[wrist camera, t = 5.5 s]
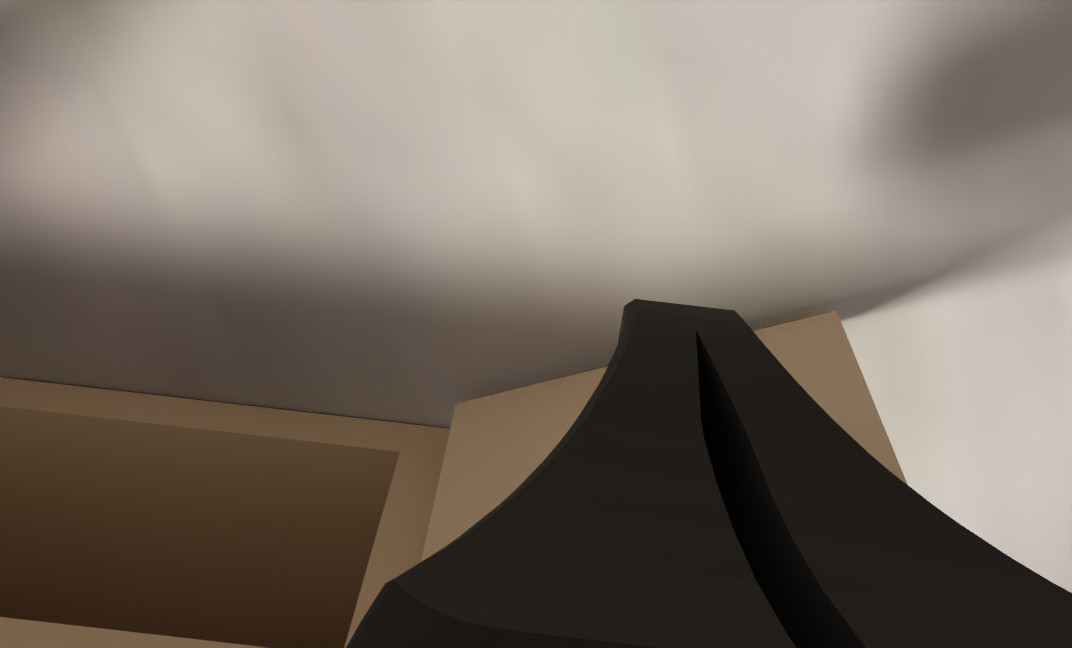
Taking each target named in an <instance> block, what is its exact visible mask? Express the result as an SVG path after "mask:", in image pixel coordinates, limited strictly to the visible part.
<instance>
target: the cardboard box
mask: <svg viewBox="0 0 1072 648" xmlns="http://www.w3.org/2000/svg"><path fill="white" fill-rule="evenodd" d="M449 432H450V429H448V428H439V427H430V426H422V425H413V424H404V423H395V422H387V421H378V420H369V419H360V418H352V417H343V416H334V415H325V414H317V413H308V412H299V411H290V410H282V409H273V408H264V407H256V406H247V405H238V404H229V403H221V402H212V401H203V400H194V399H186V398H177V397H168V396H159V395H151V394H142V393H133V392H124V391H116V390H107V389H98V388H89V387H81V386H72V385H63V384H54V383H46V382H37V381H28V380H20V379H11V378H2V377H0V648H346V646H347V645H348V643H349V641H350V640H351V638H352V636H353V634H354V633H355V631H356V629H357V627H358V626H359V624H360V622H361V621H362V619H363V617H364V616H365V614H366V613H367V611H368V610H369V608H370V606H371V605H372V603H373V602H374V600H375V598H376V597H377V595H378V594H379V592H380V591H381V589H382V588H383V586H384V585H385V583H387V582H389V581H390V580H392V579H394V578H396V577H397V576H399V575H401V574H402V573H404V572H405V571H407V570H409V569H410V568H412V567H413V566H415V565H417V564H418V563H420V562H421V559H422V555H423V550H424V546H425V541H426V536H427V532H428V527H429V523H430V518H431V514H432V509H433V505H434V500H435V496H436V491H437V487H438V482H439V477H440V473H441V468H442V464H443V459H444V455H445V450H446V446H447V441H448V437H449Z"/></svg>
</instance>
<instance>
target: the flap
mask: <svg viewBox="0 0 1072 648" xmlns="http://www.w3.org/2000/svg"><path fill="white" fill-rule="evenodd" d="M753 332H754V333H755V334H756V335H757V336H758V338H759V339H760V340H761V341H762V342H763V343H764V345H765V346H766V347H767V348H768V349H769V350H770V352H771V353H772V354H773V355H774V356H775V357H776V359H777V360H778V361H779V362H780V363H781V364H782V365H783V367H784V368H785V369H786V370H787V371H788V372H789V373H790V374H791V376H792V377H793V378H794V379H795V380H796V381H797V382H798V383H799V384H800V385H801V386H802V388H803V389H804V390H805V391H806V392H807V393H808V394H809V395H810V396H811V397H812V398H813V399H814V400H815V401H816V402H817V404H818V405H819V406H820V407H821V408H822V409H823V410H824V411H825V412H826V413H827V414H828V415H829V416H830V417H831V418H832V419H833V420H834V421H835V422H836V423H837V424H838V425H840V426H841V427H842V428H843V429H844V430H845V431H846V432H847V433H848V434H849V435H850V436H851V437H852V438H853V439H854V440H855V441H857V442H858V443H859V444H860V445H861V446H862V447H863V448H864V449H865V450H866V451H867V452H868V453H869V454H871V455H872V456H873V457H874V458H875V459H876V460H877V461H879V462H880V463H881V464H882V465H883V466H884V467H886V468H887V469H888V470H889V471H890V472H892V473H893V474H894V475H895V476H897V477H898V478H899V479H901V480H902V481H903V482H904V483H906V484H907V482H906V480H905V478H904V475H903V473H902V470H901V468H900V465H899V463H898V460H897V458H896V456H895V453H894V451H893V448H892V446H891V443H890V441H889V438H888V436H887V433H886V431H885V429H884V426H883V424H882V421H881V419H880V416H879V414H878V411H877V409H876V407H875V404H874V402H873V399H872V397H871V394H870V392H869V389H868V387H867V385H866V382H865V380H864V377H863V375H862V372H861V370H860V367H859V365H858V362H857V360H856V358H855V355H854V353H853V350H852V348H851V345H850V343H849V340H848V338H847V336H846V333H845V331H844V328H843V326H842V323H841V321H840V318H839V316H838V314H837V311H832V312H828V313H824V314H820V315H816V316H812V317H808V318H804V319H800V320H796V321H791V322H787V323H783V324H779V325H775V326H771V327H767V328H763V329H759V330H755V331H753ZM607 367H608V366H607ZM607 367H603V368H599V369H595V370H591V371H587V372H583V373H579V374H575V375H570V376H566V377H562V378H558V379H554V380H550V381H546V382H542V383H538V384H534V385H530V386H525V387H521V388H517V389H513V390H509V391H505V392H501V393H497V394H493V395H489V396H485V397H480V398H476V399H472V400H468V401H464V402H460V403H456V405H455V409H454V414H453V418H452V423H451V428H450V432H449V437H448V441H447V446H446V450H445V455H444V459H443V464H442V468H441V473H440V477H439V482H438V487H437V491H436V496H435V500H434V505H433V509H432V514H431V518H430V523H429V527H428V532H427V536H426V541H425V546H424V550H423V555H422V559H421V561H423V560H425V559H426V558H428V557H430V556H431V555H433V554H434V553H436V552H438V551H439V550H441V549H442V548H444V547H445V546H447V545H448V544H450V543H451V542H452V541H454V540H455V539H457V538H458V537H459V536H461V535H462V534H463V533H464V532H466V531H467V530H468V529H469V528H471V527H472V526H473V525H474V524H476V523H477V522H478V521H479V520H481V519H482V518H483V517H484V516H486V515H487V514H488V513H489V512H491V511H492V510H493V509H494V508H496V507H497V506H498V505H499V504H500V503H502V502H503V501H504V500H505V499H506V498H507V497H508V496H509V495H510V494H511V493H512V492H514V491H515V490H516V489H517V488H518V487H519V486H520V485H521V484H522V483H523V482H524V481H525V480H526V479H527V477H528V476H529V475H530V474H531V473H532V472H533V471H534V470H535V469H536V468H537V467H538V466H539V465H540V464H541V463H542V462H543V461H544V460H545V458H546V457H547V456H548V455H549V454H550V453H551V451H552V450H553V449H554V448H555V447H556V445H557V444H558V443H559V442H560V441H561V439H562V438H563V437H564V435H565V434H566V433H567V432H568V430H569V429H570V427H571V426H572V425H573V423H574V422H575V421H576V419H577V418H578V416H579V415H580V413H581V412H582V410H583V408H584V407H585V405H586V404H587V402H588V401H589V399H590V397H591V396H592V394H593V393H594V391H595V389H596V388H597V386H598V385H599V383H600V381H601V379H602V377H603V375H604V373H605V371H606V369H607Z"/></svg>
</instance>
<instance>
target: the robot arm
mask: <svg viewBox="0 0 1072 648" xmlns="http://www.w3.org/2000/svg"><path fill="white" fill-rule="evenodd" d="M346 648H1072V593H1070V592H1068V591H1067V590H1065V589H1063V588H1061V587H1059V586H1058V585H1056V584H1054V583H1052V582H1050V581H1049V580H1047V579H1045V578H1044V577H1042V576H1040V575H1039V574H1037V573H1035V572H1034V571H1032V570H1030V569H1029V568H1027V567H1025V566H1024V565H1022V564H1020V563H1019V562H1017V561H1015V560H1014V559H1012V558H1010V557H1009V556H1007V555H1006V554H1004V553H1003V552H1001V551H1000V550H998V549H997V548H995V547H994V546H992V545H991V544H989V543H987V542H986V541H984V540H983V539H981V538H980V537H978V536H977V535H975V534H974V533H972V532H971V531H969V530H968V529H966V528H965V527H963V526H962V525H960V524H959V523H957V522H956V521H955V520H953V519H952V518H950V517H949V516H948V515H946V514H945V513H943V512H942V511H941V510H939V509H938V508H936V507H935V506H934V505H932V504H931V503H930V502H928V501H927V500H926V499H925V498H923V497H922V496H921V495H920V494H918V493H917V492H916V491H914V490H913V489H912V488H911V487H909V486H908V485H907V484H906V483H904V482H903V481H902V480H901V479H899V478H898V477H897V476H895V475H894V474H893V473H892V472H890V471H889V470H888V469H887V468H886V467H884V466H883V465H882V464H881V463H880V462H879V461H877V460H876V459H875V458H874V457H873V456H872V455H871V454H869V453H868V452H867V451H866V450H865V449H864V448H863V447H862V446H861V445H860V444H859V443H858V442H857V441H855V440H854V439H853V438H852V437H851V436H850V435H849V434H848V433H847V432H846V431H845V430H844V429H843V428H842V427H841V426H840V425H838V424H837V423H836V422H835V421H834V420H833V419H832V418H831V417H830V416H829V415H828V414H827V413H826V412H825V411H824V410H823V409H822V408H821V407H820V406H819V405H818V404H817V402H816V401H815V400H814V399H813V398H812V397H811V396H810V395H809V394H808V393H807V392H806V391H805V390H804V389H803V388H802V386H801V385H800V384H799V383H798V382H797V381H796V380H795V379H794V378H793V377H792V376H791V374H790V373H789V372H788V371H787V370H786V369H785V368H784V367H783V365H782V364H781V363H780V362H779V361H778V360H777V359H776V357H775V356H774V355H773V354H772V353H771V352H770V350H769V349H768V348H767V347H766V346H765V345H764V343H763V342H762V341H761V340H760V339H759V338H758V336H757V335H756V334H755V333H754V332H753V331H752V329H751V328H750V327H749V326H748V325H747V324H746V322H745V321H744V320H743V319H742V318H741V317H740V316H739V315H738V314H737V313H736V312H735V311H734V310H725V309H716V308H708V307H699V306H690V305H682V304H673V303H665V302H656V301H647V300H639V299H635V300H633V301H631V302H630V303H628V304H627V305H625V306H624V311H623V317H622V323H621V329H620V335H619V341H618V345H617V348H616V351H615V353H614V355H613V357H612V359H611V361H610V363H609V365H608V367H607V369H606V371H605V373H604V375H603V377H602V379H601V381H600V383H599V385H598V386H597V388H596V389H595V391H594V393H593V394H592V396H591V397H590V399H589V401H588V402H587V404H586V405H585V407H584V408H583V410H582V412H581V413H580V415H579V416H578V418H577V419H576V421H575V422H574V423H573V425H572V426H571V427H570V429H569V430H568V432H567V433H566V434H565V435H564V437H563V438H562V439H561V441H560V442H559V443H558V444H557V445H556V447H555V448H554V449H553V450H552V451H551V453H550V454H549V455H548V456H547V457H546V458H545V460H544V461H543V462H542V463H541V464H540V465H539V466H538V467H537V468H536V469H535V470H534V471H533V472H532V473H531V474H530V475H529V476H528V477H527V479H526V480H525V481H524V482H523V483H522V484H521V485H520V486H519V487H518V488H517V489H516V490H515V491H514V492H512V493H511V494H510V495H509V496H508V497H507V498H506V499H505V500H504V501H503V502H502V503H500V504H499V505H498V506H497V507H496V508H494V509H493V510H492V511H491V512H489V513H488V514H487V515H486V516H484V517H483V518H482V519H481V520H479V521H478V522H477V523H476V524H474V525H473V526H472V527H471V528H469V529H468V530H467V531H466V532H464V533H463V534H462V535H461V536H459V537H458V538H457V539H455V540H454V541H452V542H451V543H450V544H448V545H447V546H445V547H444V548H442V549H441V550H439V551H438V552H436V553H434V554H433V555H431V556H430V557H428V558H426V559H425V560H423V561H421V562H420V563H418V564H417V565H415V566H413V567H412V568H410V569H409V570H407V571H405V572H404V573H402V574H401V575H399V576H397V577H396V578H394V579H392V580H390V581H389V582H387V583H385V585H384V586H383V588H382V589H381V591H380V592H379V594H378V595H377V597H376V598H375V600H374V602H373V603H372V605H371V606H370V608H369V610H368V611H367V613H366V614H365V616H364V617H363V619H362V621H361V622H360V624H359V626H358V627H357V629H356V631H355V633H354V634H353V636H352V638H351V640H350V641H349V643H348V645H347V646H346Z"/></svg>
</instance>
